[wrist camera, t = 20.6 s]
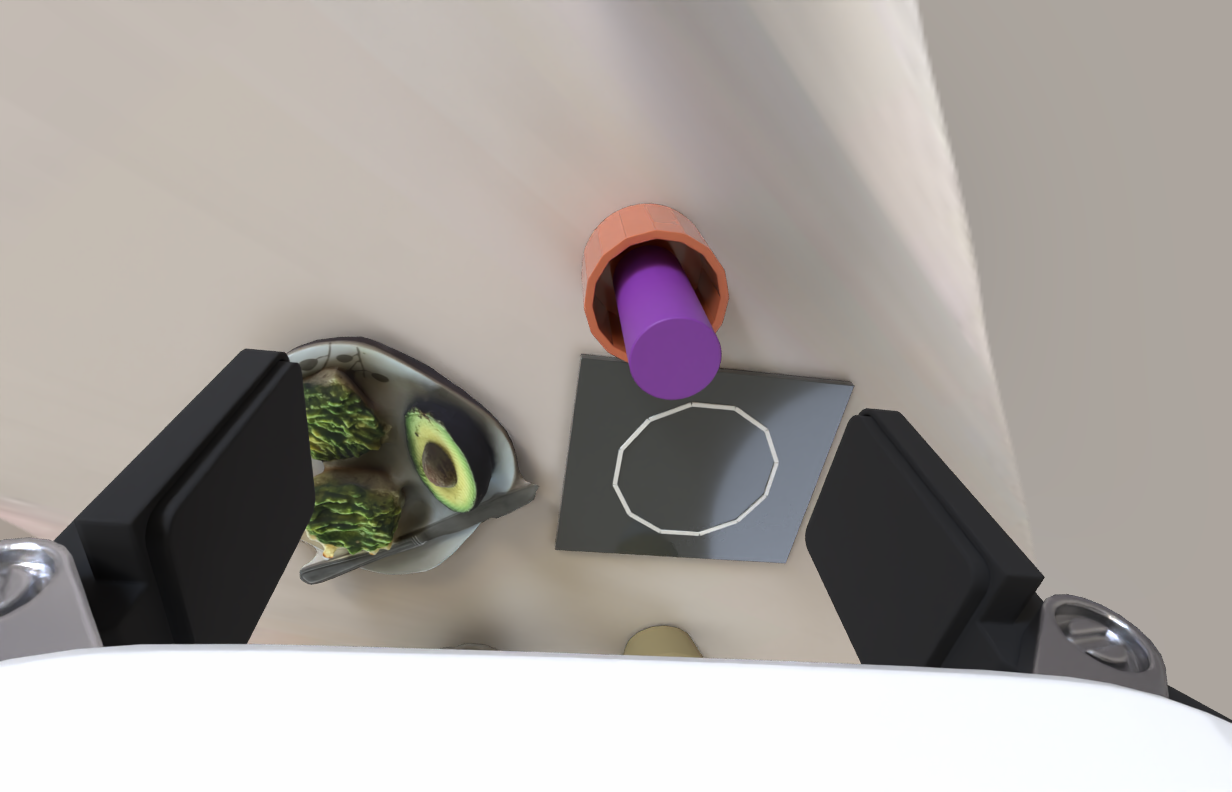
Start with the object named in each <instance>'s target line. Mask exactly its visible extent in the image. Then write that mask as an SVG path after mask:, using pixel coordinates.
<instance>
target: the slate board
mask: <svg viewBox="0 0 1232 792" xmlns="http://www.w3.org/2000/svg"><path fill="white" fill-rule="evenodd" d="M853 388H854V385H853V384H852V382H850V381H841V380H831V379H821V378H811V377H801V376H792V375H782V374H772V373H762V372H753V371H743V370H733V369H723V368H719V369H718V372H717V374H716V375H715V377H714V378H713V380H712V381H711V382H710V383H709V385H707V386H706V387H705V388H704V389H703V390H701V391H700V392H698V393H696V394H695V395H692V396H690V397H687V398H683V399H678V400H666V399H660V398H656V397H654V396H651V395H650V394H648V393H646V392H645V391H643V390H642V389H641V388H640V387H639V386H638V385H637V384H636V382H635V381H634V379H633V377H632V375H631V372H630V368H629V363H628V362H626V361H624V360H622V359H620V358H615V357H606V356H596V355H586V354H581V358H580V365H579V373H578V380H577V387H576V395H575V402H574V409H573V417H572V424H571V431H570V439H569V446H568V453H567V461H566V468H565V475H564V482H563V490H562V497H561V504H560V512H559V519H558V526H557V534H556V541H555V550H567V551H584V552H601V553H618V554H635V555H652V556H669V557H686V558H703V559H721V560H738V561H755V562H772V563H786V561H787V558H788V556H789V553H790V551H791V548H792V546H793V543H794V540H795V538H796V535H797V533H798V530H799V527H800V525H801V522H802V520H803V517H804V515H805V512H806V509H807V507H808V504H809V502H810V499H811V496H812V494H813V491H814V489H815V486H816V483H817V481H818V478H819V476H820V473H821V471H822V468H823V465H824V463H825V460H826V458H827V455H828V452H829V450H830V447H831V445H832V442H833V440H834V437H835V434H836V432H837V429H838V427H839V424H840V421H841V419H842V416H843V414H844V411H845V409H846V406H847V403H848V401H849V398H850V396H851V393H852V390H853Z"/></svg>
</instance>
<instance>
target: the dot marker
mask: <svg viewBox="0 0 1232 792" xmlns="http://www.w3.org/2000/svg"><path fill="white" fill-rule="evenodd" d="M613 287H614V292H615V297H616V302H617V307H618V312H619V317H620V322H621V327H622V333H623V338H624V343H625V348H626V353H627V358H628V363H629V368H630V372H631V375H632V377H633V379H634V381H635V382H636V384H637V385H638V386H639V387H640V388H641V389H642V390H643V391H645V392H646V393H648V394H650V395H651V396H654V397H656V398H660V399H666V400H678V399H683V398H687V397H690V396H692V395H695V394H696V393H698V392H700V391H701V390H703V389H704V388H705V387H706V386H707V385H709V383H710V382H711V381H712V380H713V378H714V377H715V375H716V374H717V372H718V369H719V366H720V363H721V354H722V353H721V346H720V342H719V340H718V338H717V336H716V334H715V332H714V330H713V328H712V326H711V324H710V322H709V320H708V318H707V316H706V314H705V312H704V310H703V308H702V306H701V304H700V302H699V300H698V298H697V296H696V294H695V292H694V290H693V288H692V286H691V284H690V282H689V280H688V278H687V276H686V274H685V272H684V270H683V268H682V266H681V264H680V262H679V260H678V259H677V257H676V256H675V255H674V254H673V253H672V252H670V251H669V250H667V249H665V248H662V247H659V246H654V245H647V246H641V247H638V248H635V249H633V250H631V251H630V252H628V253H627V254H626V255H624V256H623V257H622V259H621V260H620V261H619V263H618V264H617V266H616V268H615V271H614V275H613Z"/></svg>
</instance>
